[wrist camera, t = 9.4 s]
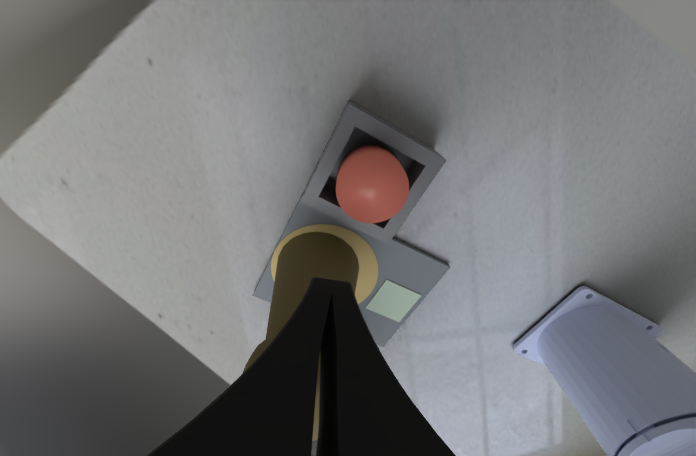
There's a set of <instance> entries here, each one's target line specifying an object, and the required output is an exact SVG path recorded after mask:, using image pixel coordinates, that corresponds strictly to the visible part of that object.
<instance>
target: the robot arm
mask: <svg viewBox="0 0 696 456" xmlns="http://www.w3.org/2000/svg"><path fill="white" fill-rule="evenodd" d="M663 331H664V329H663V328H662V327H661V326H659V325H658V324H656V323H654V322H652V321H650V320H648V319H646V318H645V317H643V316H641V315H639V314H637V313H635V312H633V311H631V310H630V309H628V308H626V307H624V306H622V305H620V304H618V303H616V302H615V301H613V300H611V299H609V298H607V297H605V296H603V295H602V294H600V293H598V292H596V291H594V290H592V289H590V288H588V287H586V286H581V287H579V288H577V289H576V290H575V291H574V292H573V293H572V294H570V295H569V296H568V297H567V298H566V299H565V300H564V301H563V302H561V303H560V304H559V305H558V306H557V307H556V308H555V309H553V310H552V311H551V312H550V313H549V314H548V315H547V316H546V317H544V318H543V319H542V320H541V321H540V322H539V323H538V324H537V325H535V326H534V327H533V328H532V329H531V330H530V331H529V332H527V333H526V334H525V335H524V336H523V337H522V338H521V339H520V340H518V341H517V342H516V343H515V344H514V345H513V347H512V348H513V350H514V352H515V353H517V354H520V355H522V356H524V357H527V358H529V359H531V360H533V361H536V362H538V363H540V364H543V365H545V366H547V368H548V369H549V371H550V372H551V374H552V375H553V377H554V378H555V380H556V381H557V383H558V384H559V386H560V387H561V388H562V390H563V391H564V393H565V394H566V396H567V397H568V399H569V400H570V402H571V403H572V405H573V406H574V408H575V409H576V411H577V412H578V414H579V415H580V416H581V418H582V419H583V421H584V422H585V424H586V425H587V427H588V428H589V430H590V431H591V433H592V434H593V436H594V437H595V439H596V440H597V442H598V443H599V444H600V446H601V447H602V449H603V450H604V452H605V453H606V455H607V456H696V373H695V372H694V371H692V370H691V369H690V368H689V367H688V366H687V365H685V364H684V363H683V362H682V361H681V360H680V359H678V358H677V357H676V356H675V355H674V354H673V353H671V352H670V351H669V350H668V349H667V348H666V347H664V346H663V345H662V344H661V343H660V342H659V341H657V340H656V339H655V338H656V337H658V336H659V335H661V334H662V333H663ZM320 351H321V353H320ZM319 356H320V398H319V428H318V440H317V450H316V456H455V454H454V453H453V452H452V451H451V450H450V448H449V447H448V446H447V445H446V444H445V443H444V441H443V440H442V439H441V438H440V437H439V436H438V434H437V433H436V432H435V431H434V429H433V428H432V427H431V425H430V424H429V423H428V421H427V420H426V419H425V418H424V416H423V415H422V414H421V412H420V411H419V410H418V408H417V407H416V406H415V405H414V403H413V402H412V401H411V399H410V398H409V396H408V395H407V394H406V392H405V391H404V389H403V388H402V386H401V385H400V383H399V382H398V380H397V379H396V377H395V376H394V374H393V372H392V371H391V369H390V368H389V366H388V364H387V363H386V361H385V359H384V357H383V356H382V354H381V352H380V350H379V348H378V347H377V345H376V343H375V341H374V339H373V337H372V335H371V333H370V331H369V329H368V326H367V324H366V322H365V320H364V318H363V315H362V313H361V311H360V308H359V306H358V303H357V300H356V297H355V294H354V291H353V288H352V285H351V284H350V282H344V281H337V280H331V279H324V278H317V277H315V278H313V279H311V282H310V285H309V287H308V289H307V291H306V293H305V295H304V297H303V299H302V300H301V302H300V304H299V305H298V307H297V308H296V310H295V311H294V313H293V314H292V316H291V317H290V319H289V320H288V322H287V323H286V324H285V326H284V327H283V328H282V330H281V331H280V332H279V333H278V335H277V336H276V337H275V339H274V340H273V341H272V342H271V343H270V345H269V346H268V347H267V348H266V349H265V351H264V352H263V353H262V354H261V355H260V356H259V357H258V358H257V359H256V361H255V362H254V363H253V364H252V365H251V366H250V367H249V368H248V369H247V370H246V371H245V372H244V373H243V374H242V375H241V376H240V377H239V378H238V379H237V380H236V381H235V382H234V383H233V384H232V385H231V386H230V387H229V388H228V389H227V390H226V391H224V392H223V393H222V394H221V395H220V396H219V397H218V398H217V399H215V400H214V401H213V402H212V403H211V404H210V405H209V406H207V407H206V408H205V409H204V410H203V411H202V412H201V413H200V414H198V415H197V416H196V417H195V418H194V419H193V420H191V421H190V422H189V423H188V424H187V425H186V426H184V427H183V428H182V429H180V430H179V431H178V432H177V433H175V434H174V435H173V436H171V437H170V438H169V439H168V440H166V441H165V442H164V443H163V444H161V445H160V446H159V447H157V448H156V449H155V450H154V451H152V452H151V453H150V454H149V455H147V456H311V452H312V438H313V425H314V411H315V399H316V387H317V375H318V364H319Z"/></svg>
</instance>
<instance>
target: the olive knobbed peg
mask: <svg viewBox="0 0 696 456" xmlns="http://www.w3.org/2000/svg"><path fill="white" fill-rule="evenodd" d="M358 272H359V263H358V257H357V255H356V254H355V252H354V250H353V248H352V247H351V246H350V245H349V244H348V243H346V242H345V241H344V240H343V239H341V238H339V237H337V236H335V235H333V234H330V233H324V232H309V233H303V234H301V235H298V236H296V237H294V238H292V239H291V240H290V241H288V242H287V243H286V244H285V245H284V246H283V248H282V250H281V252H280V254H279V256H278V261H277V268H276V275H275V281H274V288H273V294H272V301H271V308H270V314H269V321H268V327H267V334H266V340H264V341H263V342H262V343H261V344H259V345H258V346H257V348H256V349H255V351H254V352H253V354H252V355H251V357H250V359H249V360H248V362H247V364H246V366H245V369H244V371H243V373H244V372H245V371H246V370H247V369H248V368H249V367H250V366H251V365H252V364H253V363H254V362H255V361H256V359H257V358H258V357H259V356H260V355H261V354H262V353H263V352H264V351H265V349H266V348H267V347H268V346H269V345H270V343H271V342H272V341H273V340H274V339H275V337H276V336H277V335H278V333H279V332H280V331H281V330H282V328H283V327H284V326H285V324H286V323H287V322H288V320H289V319H290V317H291V316H292V314H293V313H294V311H295V310H296V308H297V307H298V305H299V304H300V302H301V300H302V299H303V297H304V295H305V293H306V291H307V289H308V287H309V285H310V282H311V279H313V278H315V277H317V278H324V279H331V280H337V281H344V282H350V284H351V285H352V288H353V291H354V294H355V290H356V284H357V278H358ZM320 353H321V351H320ZM319 398H320V356H319V364H318V375H317V387H316V399H315V411H314V425H313V438H312V441H315V440H318V428H319Z"/></svg>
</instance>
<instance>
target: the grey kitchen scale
mask: <svg viewBox="0 0 696 456" xmlns="http://www.w3.org/2000/svg"><path fill="white" fill-rule="evenodd" d="M302 196H303V194H302ZM302 196H301V198H302ZM301 198H300V200H299V202H298V204H297V206H296V208H295V210H294V212H293V214H292V216H291V218H290V220H289V223H288V225H287V227H286V229H285V231H284V233H283V235H282V237H281V239H280V241H279V243H278V245H277V247H276V249H275V251H274V253H273V255H272V257H271V259H270V261H269V263H268V265H267V267H266V269H265V271H264V273H263V275H262V277H261V279H260V281H259V283H258V285H257V287H256V290H255V292H254V294H253V296H255V297H258V298H261V299H263V300H266V301H268V302H271V301H272V294H273V288H274V281H275V275H276V268H277V261H278V256H279V254H280V252H281V250H282V248H283V246H284V245H285V244H286V243H287V242H288V241H290V240H291V239H292V238H294V237H296V236H298V235H301V234H303V233H309V232H324V233H330V234H333V235H335V236H337V237H339V238H341V239H343V240H344V241H345V242H346V243H348V244H349V245H350V246H351V247H352V248H353V250H354V252H355V254H356V255H357V257H358V263H359V272H358V278H357V284H356V290H355V297H356V300H357V303H358V306H359V308H360V311H361V313H362V315H363V318H364V320H365V322H366V324H367V326H368V329H369V331H370V333H371V335H372V337H373V339H374V341H375V343H376V344H378V345H381V346H384V345H385V344H386V343H387V342H388V340H389V339H390V338H391V337H392V336H393V335H394V333H395V332H396V331H397V330H398V329H399V327H400V326H401V325H402V324H403V323H404V321H405V320H406V319H407V318H408V317H409V316H410V314H411V313H412V312H413V311H414V310H415V308H416V307H417V306H418V305H419V304H420V303H421V301H422V300H423V299H424V298H425V297H426V295H427V294H428V293H429V292H430V291H431V289H432V288H433V287H434V286H435V285H436V284H437V282H438V281H439V280H440V279H441V278H442V276H443V275H444V274H445V273H446V272H447V270H448V269H449V268H450V266H449V264H447V263H445V262H443V261H441V260H438V259H436V258H434V257H432V256H430V255H428V254H426V253H424V252H422V251H420V250H418V249H416V248H414V247H412V246H410V245H408V244H406V243H404V242H402V241H400V240H397V239H395V238H392V239H391V241H390V242H389V244H386V243H384V242H382V241H380V240H378V239H376V238H374V237H372V236H370V235H368V234H366V233H363V232H361V231H359V230H357V229H355V228H353V227H351V226H349V225H347V224H345V223H343V222H341V221H338V220H336V219H334V218H332V217H330V216H328V215H326V214H324V213H322V212H320V211H318V210H316V209H313V208H311V207H309V206H307V205H305V204H303V203H301V202H300V201H301Z"/></svg>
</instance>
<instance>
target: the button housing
mask: <svg viewBox="0 0 696 456" xmlns="http://www.w3.org/2000/svg"><path fill="white" fill-rule="evenodd" d="M364 144H378V145H381V146H384V147H386V148H388V149H389V150H390V151H392V152H393V153H394V154H395V156H396V157H397V159H398V160H399V162H400V164H401V165H402V167H403V169H404V170H405V172H406V175H407V177H408V181H409V194H408V197H407V200H406V202H405V204H404V206H403V207H402V209H401V210H400V211H399V212H398V213H397V214H396V215H394V216H393V217H391V218H390V219H388V220H386V221H382V222H378V223H364V222H360V221H357V220H355V219H353V218H351V217H350V216H348V215H347V214H346V213H345V212H344V211H343V209H342V208H341V207H340V205H339V203H338V200H337V196H336V182H337V174H338V168H339V165H340V163H341V161H342V159H343V158H344V156H345V155H346V154H347V153H348V152H349V151H351V150H352V149H353V148H355V147H357V146H360V145H364ZM445 161H446V159H445V158H443V157H442V156H441V155H440V154H439V153H438V152H436V151H435V150H434V149H432V148H431V147H429V146H427V145H426V144H424V143H422V142H420V141H419V140H417V139H415V138H414V137H412V136H410V135H408V134H407V133H405V132H403V131H402V130H400V129H398V128H396V127H395V126H393V125H391V124H390V123H388V122H386V121H384V120H383V119H381V118H379V117H378V116H376V115H374V114H372V113H371V112H369V111H367V110H366V109H364V108H362V107H360V106H359V105H357V104H355V103H354V102H352V101H350V100H349V101H348V103H347V105H346V107H345V109H344V111H343V113H342V115H341V117H340V119H339V121H338V123H337V125H336V127H335V129H334V131H333V133H332V135H331V137H330V139H329V141H328V143H327V145H326V147H325V149H324V151H323V154H322V156H321V158H320V160H319V162H318V164H317V166H316V168H315V170H314V172H313V174H312V176H311V178H310V180H309V182H308V184H307V186H306V188H305V191H304V193H303V196H302V198H301V201H300V202H301V203H303V204H305V205H307V206H309V207H311V208H313V209H316V210H318V211H320V212H322V213H324V214H326V215H328V216H330V217H332V218H334V219H336V220H338V221H341V222H343V223H345V224H347V225H349V226H351V227H353V228H355V229H357V230H359V231H361V232H363V233H366V234H368V235H370V236H372V237H374V238H376V239H378V240H380V241H382V242H384V243H386V244H389V242H390V241H391V239H392V238H393V236H394V235H395V234H396V232H397V231H398V229H399V228H400V226H401V225H402V223H403V222H404V221H405V219H406V218H407V216H408V215H409V213H410V212H411V210H412V209H413V208H414V206H415V205H416V203H417V202H418V200H419V199H420V198H421V196H422V195H423V193H424V192H425V190H426V189H427V187H428V186H429V185H430V183H431V182H432V180H433V179H434V177H435V176H436V174H437V173H438V172H439V170H440V169H441V167H442V166H443V164H444V163H445Z"/></svg>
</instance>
